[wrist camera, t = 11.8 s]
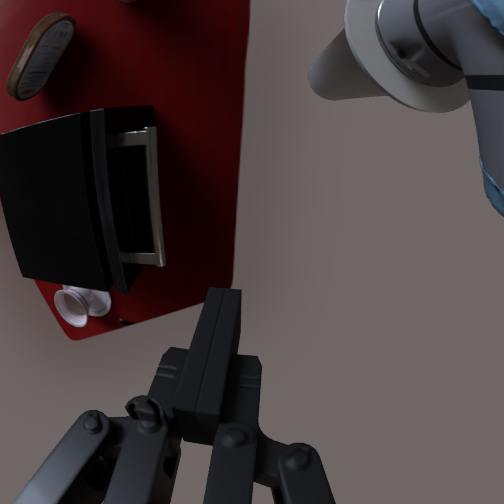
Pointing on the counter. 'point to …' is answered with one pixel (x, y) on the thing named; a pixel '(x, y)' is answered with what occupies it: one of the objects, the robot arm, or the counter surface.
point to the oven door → (128, 190)
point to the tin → (40, 55)
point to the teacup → (81, 304)
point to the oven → (54, 203)
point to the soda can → (126, 1)
